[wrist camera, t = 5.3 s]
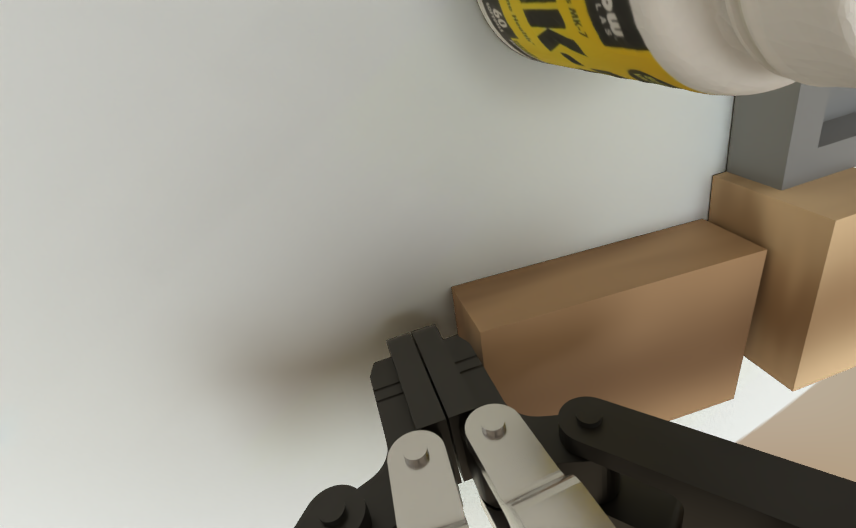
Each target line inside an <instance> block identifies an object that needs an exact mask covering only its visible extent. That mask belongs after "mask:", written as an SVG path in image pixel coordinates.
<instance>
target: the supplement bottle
mask: <svg viewBox="0 0 856 528" xmlns="http://www.w3.org/2000/svg"><path fill="white" fill-rule="evenodd" d="M477 1H478V4H479V7H480V9H481V11H482V13H483V15H484V17H485V19H486V20H487V22H488V24H489V25H490V27H491V28H492V29H493V31H494V32H495V33H496V35H497V36H498V37H499V38H500V39H501V40H502V41H503V42H504V43H506V44H507V45H508V46H509V47H510V48H512V49H513V50H514V51H516V52H518V53H519V54H521V55H523V56H525V57H527V58H530V59H533V60H536V61H540V62H544V63H548V64H554V65H559V66H564V67H569V68H575V69H580V70H584V71H588V72H594V73H601V74H606V75H611V76H614V77H619V78H626V79H633V80H638V81H642V82H646V83H654V84H659V85H664V86H668V87H672V88H680V89H685V90H689V91H693V92H698V93H703V94H711V95H726V96H740V95H752V94H758V93H764V92H768V91H771V90H775V89H778V88H782V87H784V86H787V85H790V84H792V83H795V82H799V83H802V84H805V85H810V86H816V87H846V88H856V0H477Z"/></svg>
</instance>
